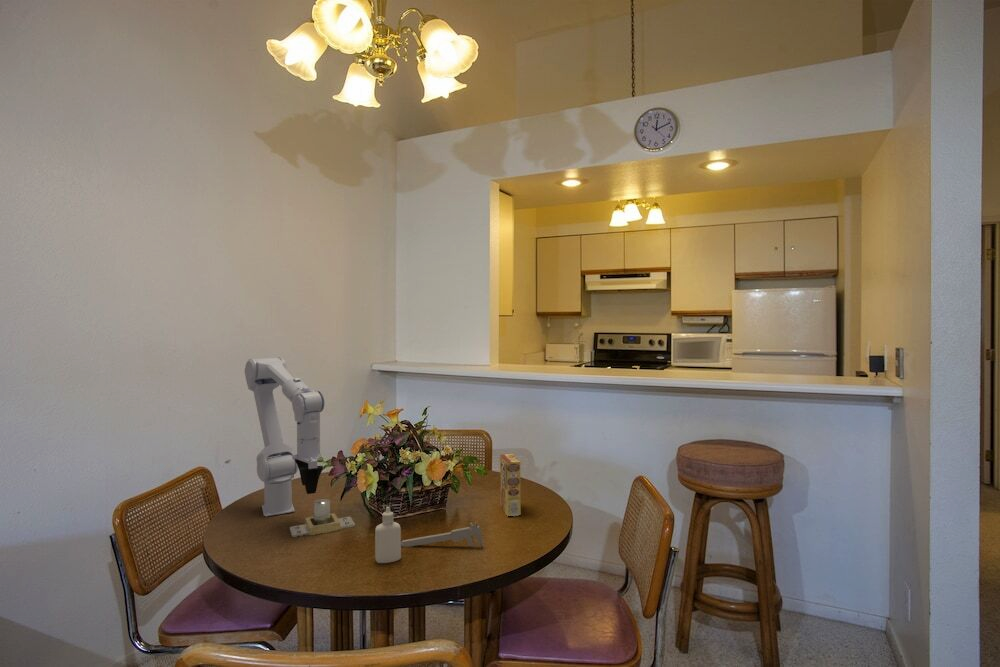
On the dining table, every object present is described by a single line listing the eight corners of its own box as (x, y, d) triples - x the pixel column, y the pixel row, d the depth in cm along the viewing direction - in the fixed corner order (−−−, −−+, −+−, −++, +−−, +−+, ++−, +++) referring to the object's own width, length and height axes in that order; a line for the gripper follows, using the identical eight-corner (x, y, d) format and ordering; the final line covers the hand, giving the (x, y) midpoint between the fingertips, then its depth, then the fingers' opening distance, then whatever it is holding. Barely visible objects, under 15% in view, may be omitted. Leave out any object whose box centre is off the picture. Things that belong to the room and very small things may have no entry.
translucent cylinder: (312, 526, 137) (312, 500, 137) (328, 523, 139) (328, 497, 139) (315, 532, 133) (315, 505, 133) (331, 529, 135) (331, 502, 135)
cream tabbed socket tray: (289, 528, 136) (289, 520, 136) (349, 517, 143) (349, 510, 143) (292, 538, 129) (292, 531, 129) (355, 527, 136) (355, 519, 136)
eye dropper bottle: (379, 554, 121) (379, 503, 120) (403, 556, 120) (403, 504, 119) (372, 563, 116) (372, 510, 116) (396, 565, 115) (396, 511, 115)
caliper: (481, 547, 125) (481, 521, 125) (481, 549, 124) (481, 523, 124) (397, 545, 126) (397, 520, 126) (396, 547, 125) (396, 522, 125)
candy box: (521, 516, 144) (521, 461, 144) (506, 517, 143) (506, 462, 143) (513, 505, 153) (513, 453, 152) (499, 506, 152) (499, 454, 151)
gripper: (288, 433, 141) (289, 483, 142) (296, 445, 128) (296, 499, 129) (316, 431, 145) (316, 479, 145) (325, 442, 132) (325, 495, 132)
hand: (308, 488), depth 137 cm, fingers open, 7 cm apart
